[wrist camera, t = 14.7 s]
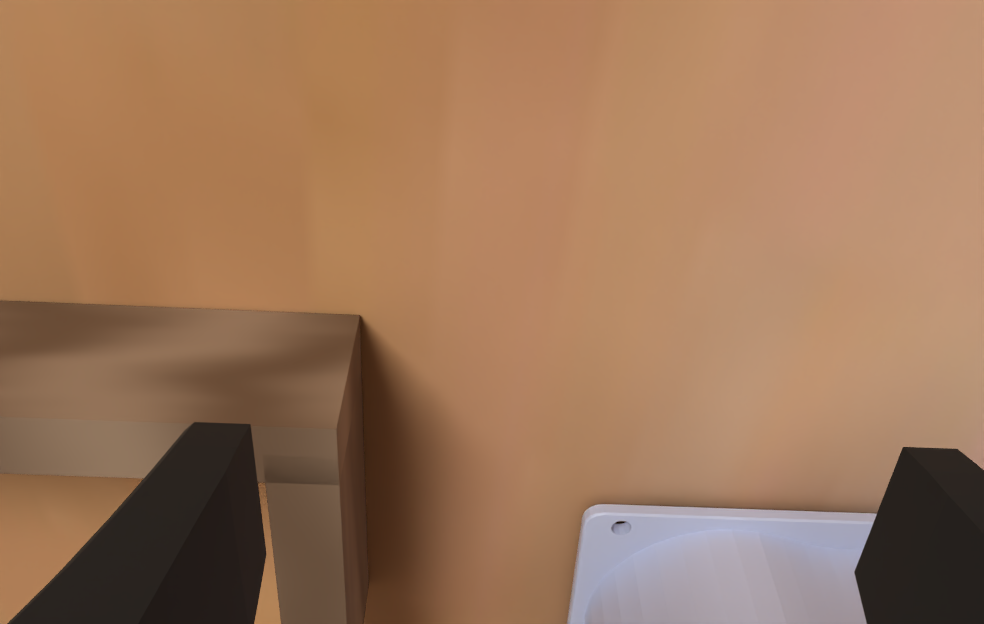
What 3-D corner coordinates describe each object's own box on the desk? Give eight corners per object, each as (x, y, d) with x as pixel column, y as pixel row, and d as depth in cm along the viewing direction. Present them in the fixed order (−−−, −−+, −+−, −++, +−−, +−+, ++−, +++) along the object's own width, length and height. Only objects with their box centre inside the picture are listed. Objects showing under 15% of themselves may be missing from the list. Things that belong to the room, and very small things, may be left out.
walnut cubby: (359, 315, 22) (336, 429, 18) (368, 584, 27) (351, 712, 24) (-375, 285, 21) (-535, 397, 18) (-224, 565, 26) (-326, 693, 23)
